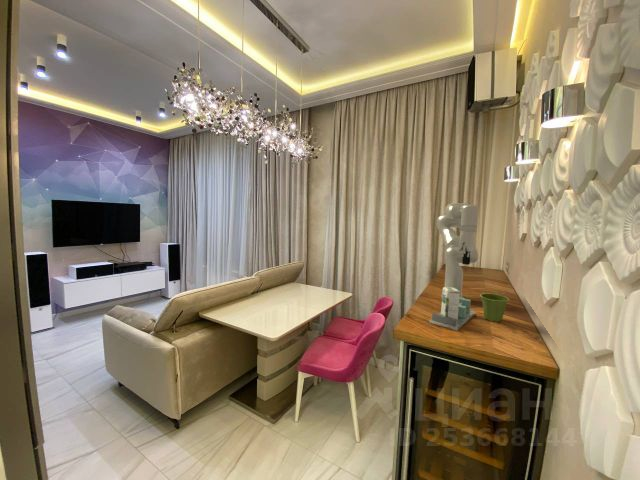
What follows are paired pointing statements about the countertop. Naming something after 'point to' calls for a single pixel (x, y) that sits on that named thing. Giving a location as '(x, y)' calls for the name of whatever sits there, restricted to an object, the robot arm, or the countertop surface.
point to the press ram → (463, 307)
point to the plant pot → (494, 306)
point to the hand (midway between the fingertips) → (465, 264)
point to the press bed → (459, 323)
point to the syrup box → (450, 302)
